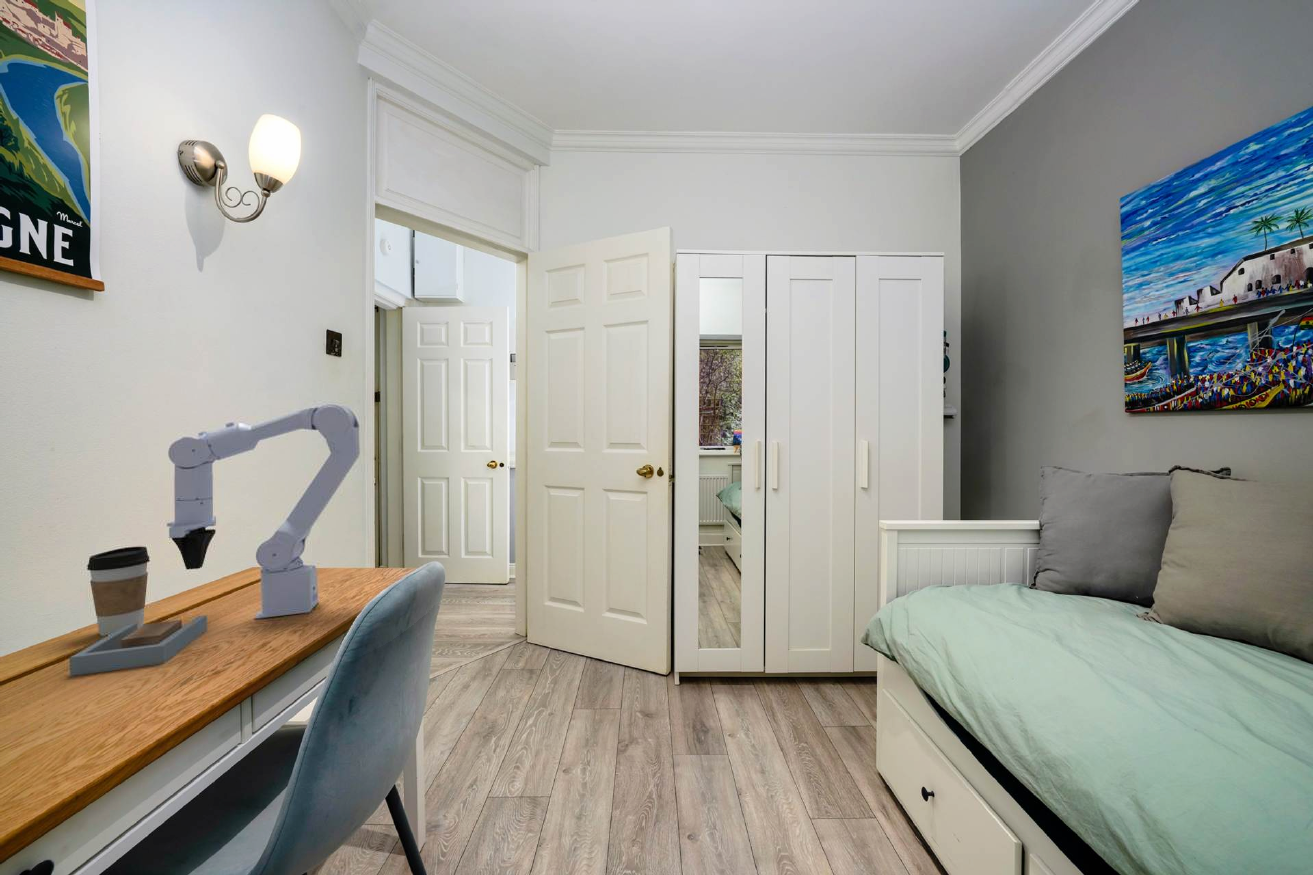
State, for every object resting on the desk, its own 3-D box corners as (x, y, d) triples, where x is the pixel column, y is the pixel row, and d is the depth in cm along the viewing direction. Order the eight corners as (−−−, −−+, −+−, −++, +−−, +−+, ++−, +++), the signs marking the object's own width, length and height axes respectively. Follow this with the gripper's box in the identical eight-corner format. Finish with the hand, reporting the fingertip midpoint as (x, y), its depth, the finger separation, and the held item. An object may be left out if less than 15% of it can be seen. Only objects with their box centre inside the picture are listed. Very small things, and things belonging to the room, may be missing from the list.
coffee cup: (164, 622, 105) (161, 545, 105) (117, 638, 97) (114, 556, 97) (125, 621, 106) (123, 546, 106) (75, 638, 98) (72, 556, 98)
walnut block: (182, 638, 97) (181, 619, 97) (160, 655, 90) (159, 634, 90) (146, 643, 95) (146, 623, 95) (121, 661, 88) (120, 639, 88)
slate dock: (207, 629, 100) (206, 615, 100) (164, 663, 86) (163, 645, 86) (129, 639, 97) (128, 623, 97) (70, 675, 82) (69, 657, 82)
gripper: (186, 495, 111) (186, 561, 111) (148, 504, 97) (148, 579, 97) (227, 494, 113) (228, 559, 113) (196, 502, 100) (196, 575, 100)
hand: (194, 568), depth 105 cm, fingers closed
